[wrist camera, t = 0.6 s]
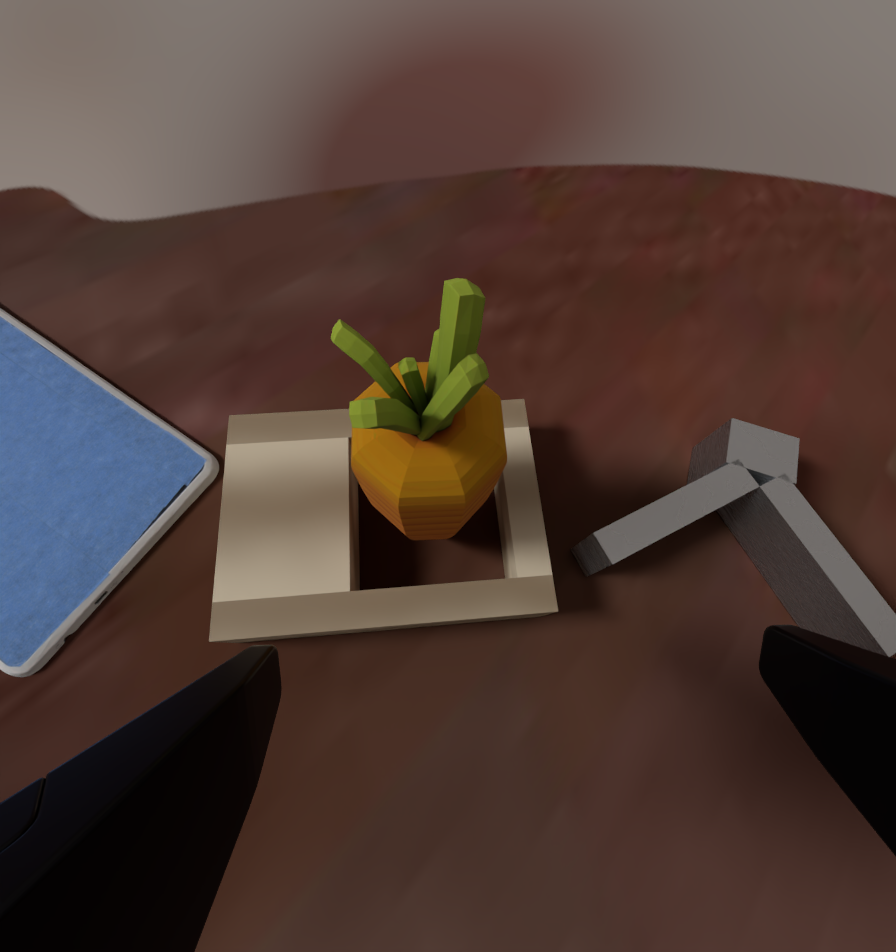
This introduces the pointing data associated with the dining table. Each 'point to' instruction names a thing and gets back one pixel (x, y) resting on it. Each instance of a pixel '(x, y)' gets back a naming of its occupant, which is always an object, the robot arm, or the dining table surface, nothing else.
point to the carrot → (428, 424)
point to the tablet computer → (76, 492)
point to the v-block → (761, 534)
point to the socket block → (350, 538)
